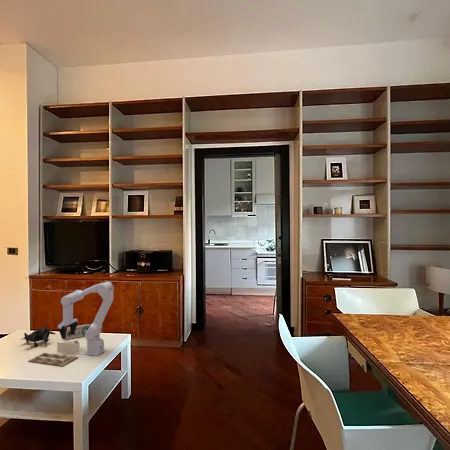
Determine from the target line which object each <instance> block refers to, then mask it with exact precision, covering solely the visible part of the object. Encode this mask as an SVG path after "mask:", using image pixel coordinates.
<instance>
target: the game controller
mask: <svg viewBox="0 0 450 450" xmlns="http://www.w3.org/2000/svg"><path fill="white" fill-rule="evenodd" d="M91 325H92V324H88V323H87V324H82V325H77V327H76V330H75V334H74V335H71V333H70V326H69V327H66V328H67V331H66V338H65V339H64V340H65V341H70V340H73V339H74V338H78V337H79V338H80V337H85V332H86V331H87V330H88V329H89V327H90V326H91Z"/></svg>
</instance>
